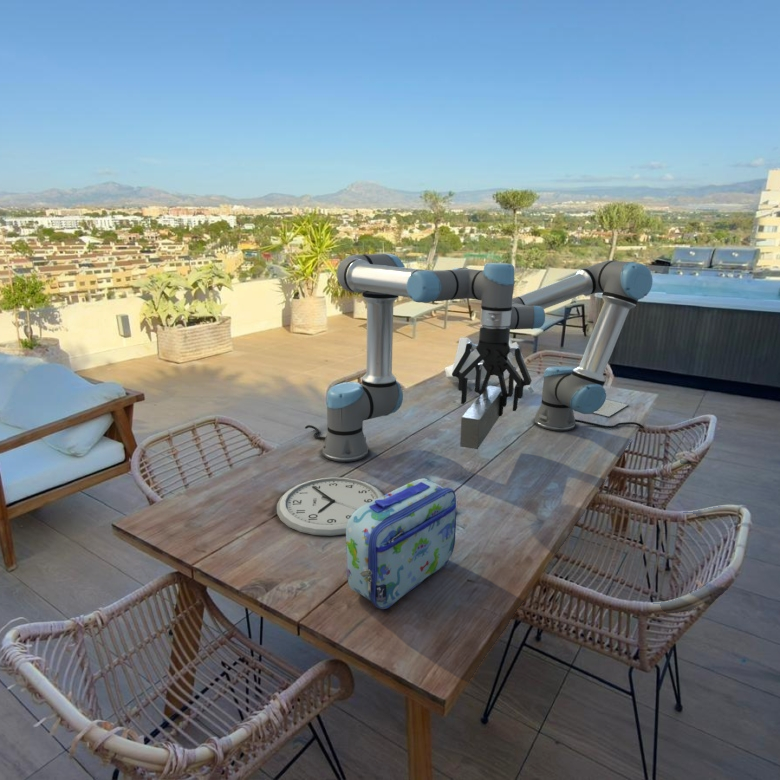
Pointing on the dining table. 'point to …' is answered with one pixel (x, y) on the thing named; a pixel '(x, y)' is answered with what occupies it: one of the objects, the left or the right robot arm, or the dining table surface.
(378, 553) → the lunch box
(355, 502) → the wall clock
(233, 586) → the dining table surface
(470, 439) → the bar
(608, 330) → the right robot arm
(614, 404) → the invitation card
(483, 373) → the white plastic object
